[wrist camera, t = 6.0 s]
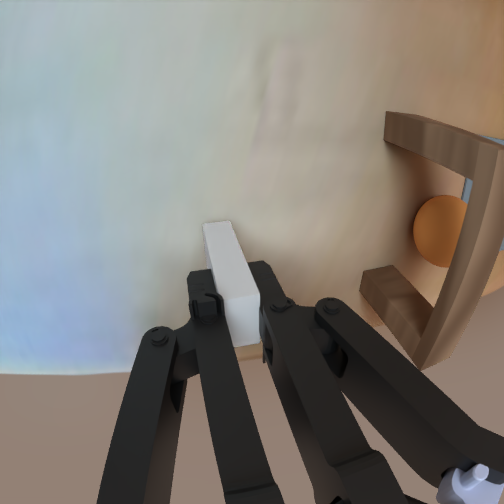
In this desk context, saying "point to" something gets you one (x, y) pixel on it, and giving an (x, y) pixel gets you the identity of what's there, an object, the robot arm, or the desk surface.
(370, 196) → the desk surface
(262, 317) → the robot arm
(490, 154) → the bridge
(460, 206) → the ball
